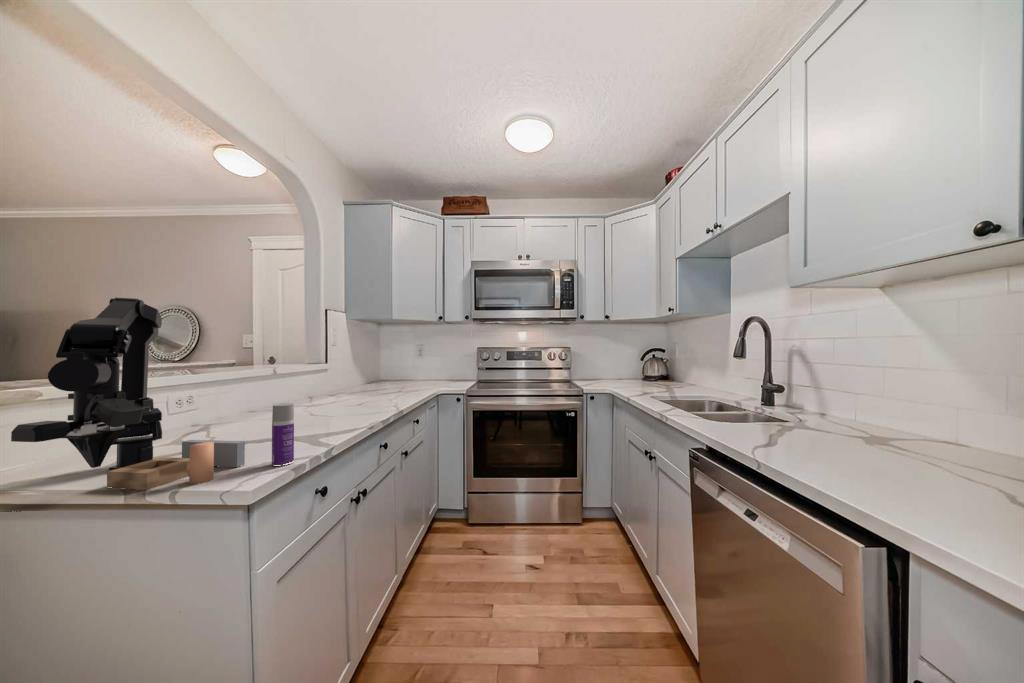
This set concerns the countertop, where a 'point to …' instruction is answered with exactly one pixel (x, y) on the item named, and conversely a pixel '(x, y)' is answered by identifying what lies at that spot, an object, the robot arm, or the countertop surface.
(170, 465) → the socket block
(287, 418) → the container
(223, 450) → the backstop wall
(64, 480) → the countertop surface
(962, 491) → the countertop surface
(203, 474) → the dowel
